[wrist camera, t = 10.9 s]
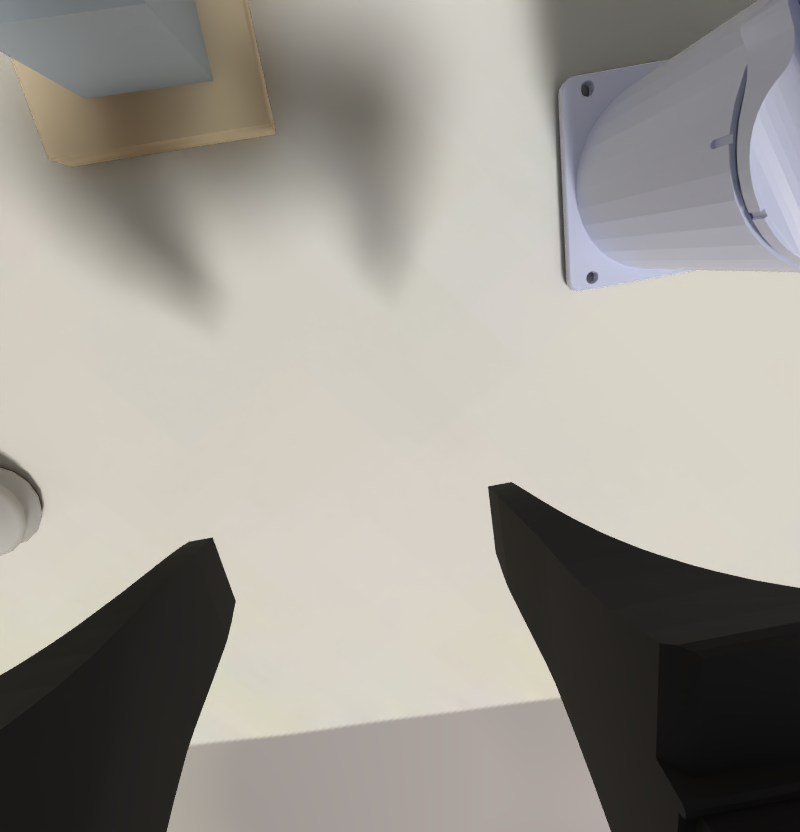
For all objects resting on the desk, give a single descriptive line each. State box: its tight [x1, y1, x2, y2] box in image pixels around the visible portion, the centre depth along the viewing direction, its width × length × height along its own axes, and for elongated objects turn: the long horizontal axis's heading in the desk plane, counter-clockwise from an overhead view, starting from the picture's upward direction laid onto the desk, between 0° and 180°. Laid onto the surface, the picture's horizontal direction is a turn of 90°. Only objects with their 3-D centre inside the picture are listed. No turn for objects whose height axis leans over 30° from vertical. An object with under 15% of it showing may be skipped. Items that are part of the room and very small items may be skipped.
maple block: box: [11, 0, 276, 167], centre depth 16 cm, size 8×8×2 cm
